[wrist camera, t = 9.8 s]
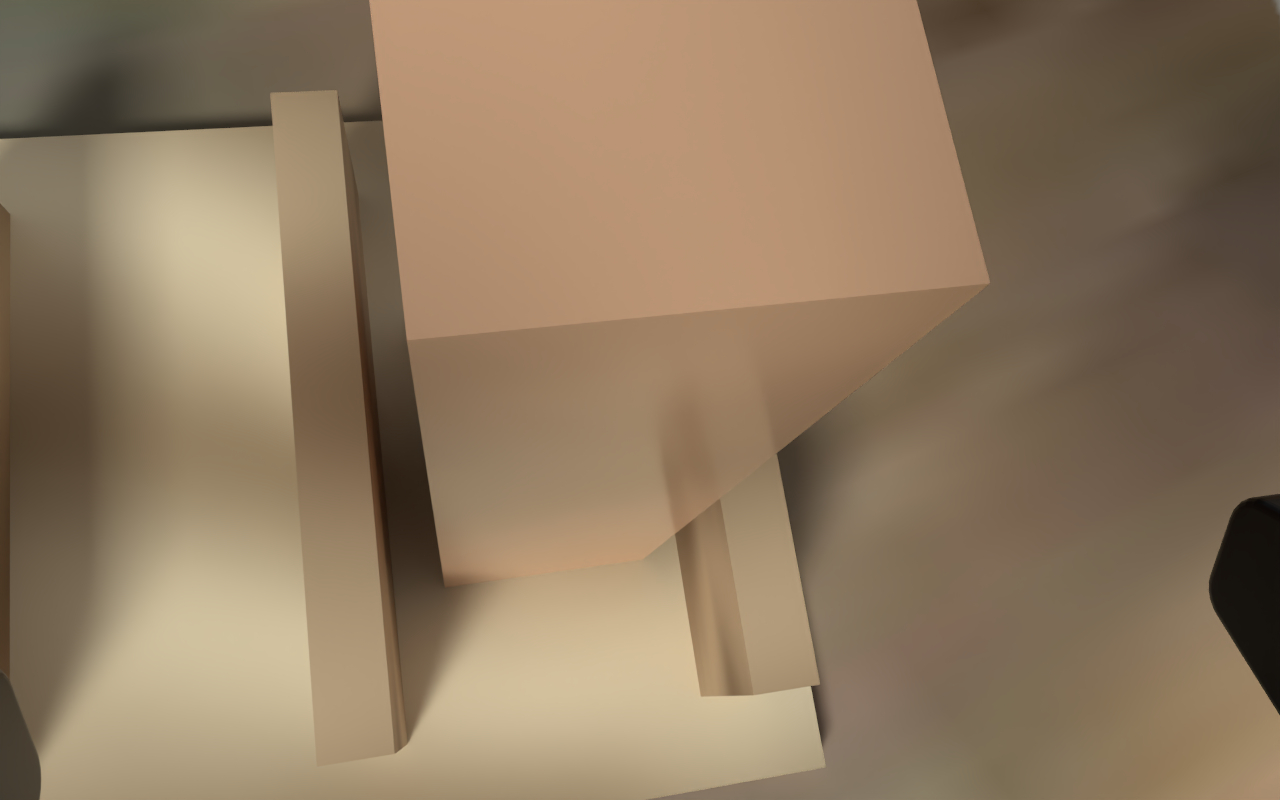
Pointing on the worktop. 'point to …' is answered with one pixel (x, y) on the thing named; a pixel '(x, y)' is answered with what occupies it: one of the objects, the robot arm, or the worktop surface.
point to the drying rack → (319, 516)
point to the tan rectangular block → (652, 250)
